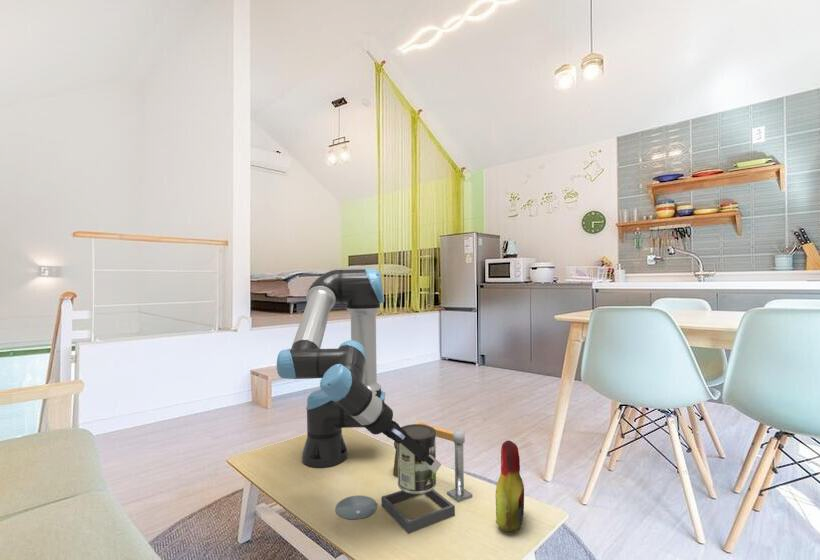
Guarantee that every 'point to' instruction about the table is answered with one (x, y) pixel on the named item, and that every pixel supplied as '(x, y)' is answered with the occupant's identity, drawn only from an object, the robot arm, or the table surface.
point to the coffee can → (416, 461)
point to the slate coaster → (356, 507)
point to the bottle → (509, 489)
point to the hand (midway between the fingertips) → (426, 460)
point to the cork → (396, 461)
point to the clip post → (459, 477)
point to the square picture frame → (421, 521)
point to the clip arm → (448, 434)
